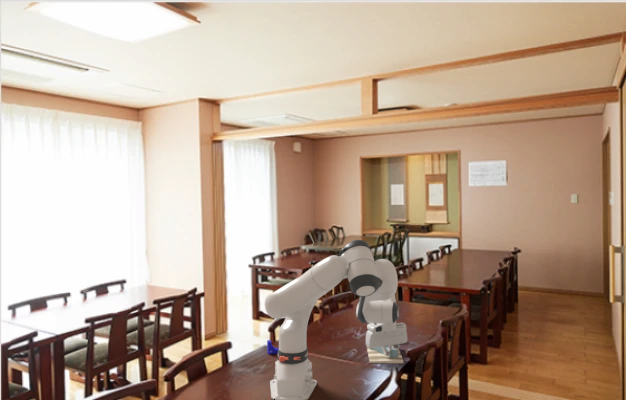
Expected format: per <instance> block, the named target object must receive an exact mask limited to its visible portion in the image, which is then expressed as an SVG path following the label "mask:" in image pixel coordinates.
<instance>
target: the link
mask: <svg viewBox="0 0 626 400" xmlns="http://www.w3.org/2000/svg"><path fill="white" fill-rule="evenodd" d="M369 349H373V350H376V351H378V352H380V353H383V354H384V351H383V349H382V348H381V347H377V348H369ZM385 349H386V350H387V349H388V346H386V348H385ZM388 356H390V357H392V358H395V357H398V350H397V349H394V348H392V349H391V351H390V355H388Z"/></svg>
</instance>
